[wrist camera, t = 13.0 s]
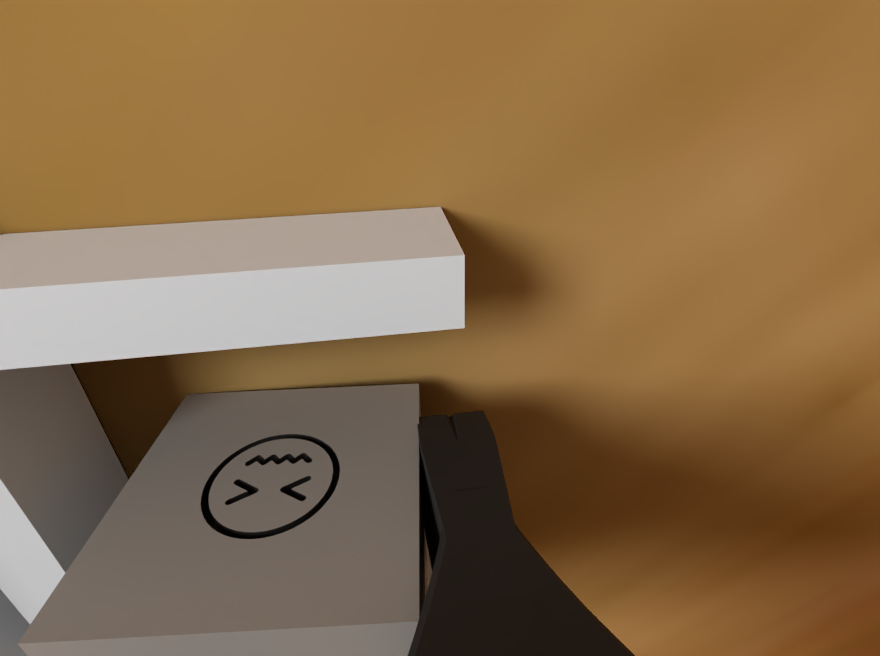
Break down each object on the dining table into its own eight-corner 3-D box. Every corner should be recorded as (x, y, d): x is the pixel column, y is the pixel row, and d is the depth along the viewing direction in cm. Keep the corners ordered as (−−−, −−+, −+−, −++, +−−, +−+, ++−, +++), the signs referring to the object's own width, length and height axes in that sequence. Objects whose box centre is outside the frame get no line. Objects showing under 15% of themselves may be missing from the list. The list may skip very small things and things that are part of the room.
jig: (449, 570, 14) (467, 681, 12) (-217, 667, 13) (-366, 824, 10) (439, 162, 8) (472, 209, 6) (-841, 229, 7) (-1616, 342, 4)
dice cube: (242, 541, 13) (151, 793, 8) (187, 393, 10) (16, 644, 6) (427, 532, 13) (433, 775, 8) (418, 383, 10) (419, 621, 6)
